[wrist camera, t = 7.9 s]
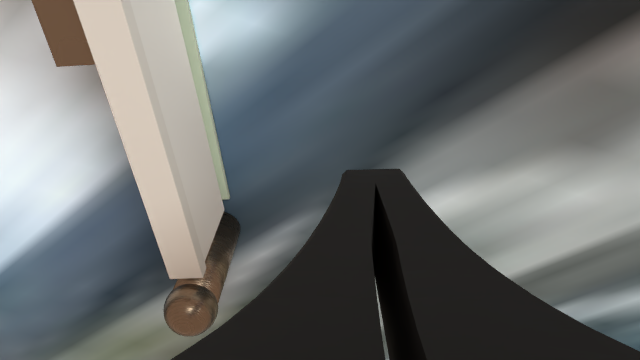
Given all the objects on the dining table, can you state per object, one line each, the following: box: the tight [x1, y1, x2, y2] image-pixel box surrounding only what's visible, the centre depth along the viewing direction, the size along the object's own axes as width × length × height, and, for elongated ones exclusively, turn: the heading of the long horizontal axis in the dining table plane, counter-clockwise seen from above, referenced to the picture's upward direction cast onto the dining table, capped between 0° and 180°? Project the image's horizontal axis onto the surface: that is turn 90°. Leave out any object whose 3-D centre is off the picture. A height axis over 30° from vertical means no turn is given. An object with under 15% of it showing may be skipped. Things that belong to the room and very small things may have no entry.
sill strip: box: [174, 0, 230, 200], centre depth 20 cm, size 2×11×1 cm, turn 4°
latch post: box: [32, 0, 95, 67], centre depth 16 cm, size 2×2×5 cm, turn 4°
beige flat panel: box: [73, 0, 224, 279], centre depth 18 cm, size 12×1×5 cm, turn 5°
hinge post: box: [164, 212, 240, 336], centre depth 21 cm, size 2×2×7 cm
